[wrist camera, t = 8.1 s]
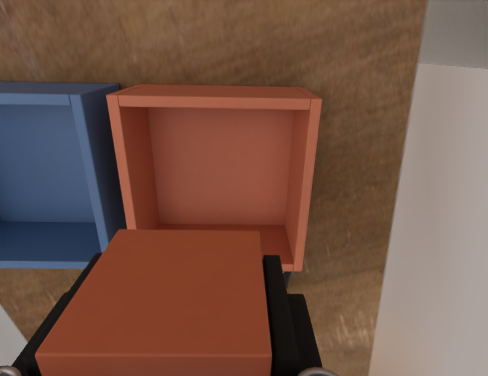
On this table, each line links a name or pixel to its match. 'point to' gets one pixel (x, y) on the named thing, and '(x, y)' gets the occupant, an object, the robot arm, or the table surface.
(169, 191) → the terracotta bin
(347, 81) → the table surface
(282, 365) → the robot arm
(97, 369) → the terracotta block
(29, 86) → the blue bin
